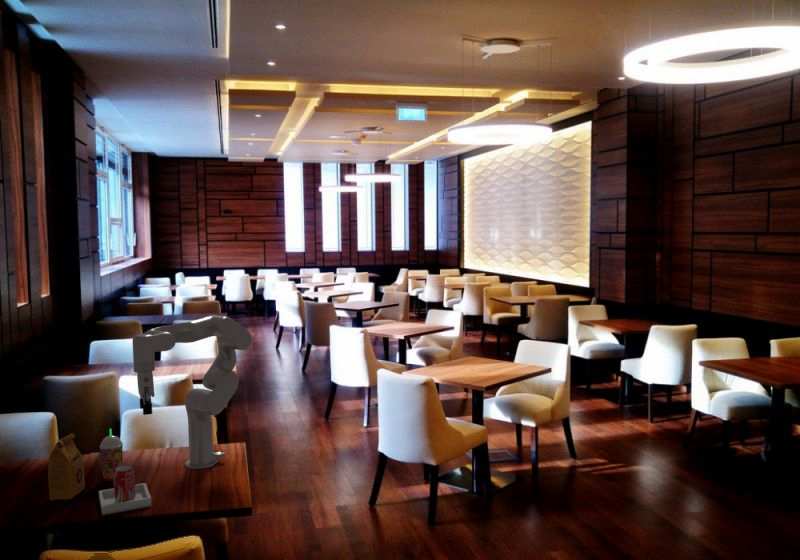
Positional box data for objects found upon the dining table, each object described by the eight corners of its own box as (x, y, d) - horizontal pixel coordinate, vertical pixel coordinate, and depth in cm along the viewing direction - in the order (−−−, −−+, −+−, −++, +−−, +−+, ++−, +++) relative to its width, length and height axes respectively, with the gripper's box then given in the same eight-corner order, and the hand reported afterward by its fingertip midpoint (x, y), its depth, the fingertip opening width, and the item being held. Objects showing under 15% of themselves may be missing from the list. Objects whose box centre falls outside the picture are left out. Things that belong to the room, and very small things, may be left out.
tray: (145, 490, 256) (145, 482, 256) (151, 506, 242) (151, 497, 242) (99, 498, 249) (98, 490, 249) (102, 515, 235) (101, 506, 235)
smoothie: (96, 480, 267) (94, 430, 265) (114, 473, 274) (112, 424, 273) (111, 484, 263) (108, 433, 261) (129, 477, 270) (126, 427, 269)
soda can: (114, 498, 248) (113, 465, 247) (135, 495, 250) (134, 463, 249) (114, 505, 241) (112, 472, 240) (135, 502, 244) (134, 469, 243)
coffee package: (90, 489, 258) (87, 432, 257) (71, 502, 246) (68, 442, 244) (64, 488, 259) (61, 431, 257) (45, 502, 247) (41, 442, 245)
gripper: (157, 370, 254) (159, 415, 255) (151, 361, 269) (153, 404, 270) (136, 372, 250) (138, 418, 252) (131, 363, 266) (133, 407, 267)
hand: (146, 411), depth 261 cm, fingers open, 9 cm apart
